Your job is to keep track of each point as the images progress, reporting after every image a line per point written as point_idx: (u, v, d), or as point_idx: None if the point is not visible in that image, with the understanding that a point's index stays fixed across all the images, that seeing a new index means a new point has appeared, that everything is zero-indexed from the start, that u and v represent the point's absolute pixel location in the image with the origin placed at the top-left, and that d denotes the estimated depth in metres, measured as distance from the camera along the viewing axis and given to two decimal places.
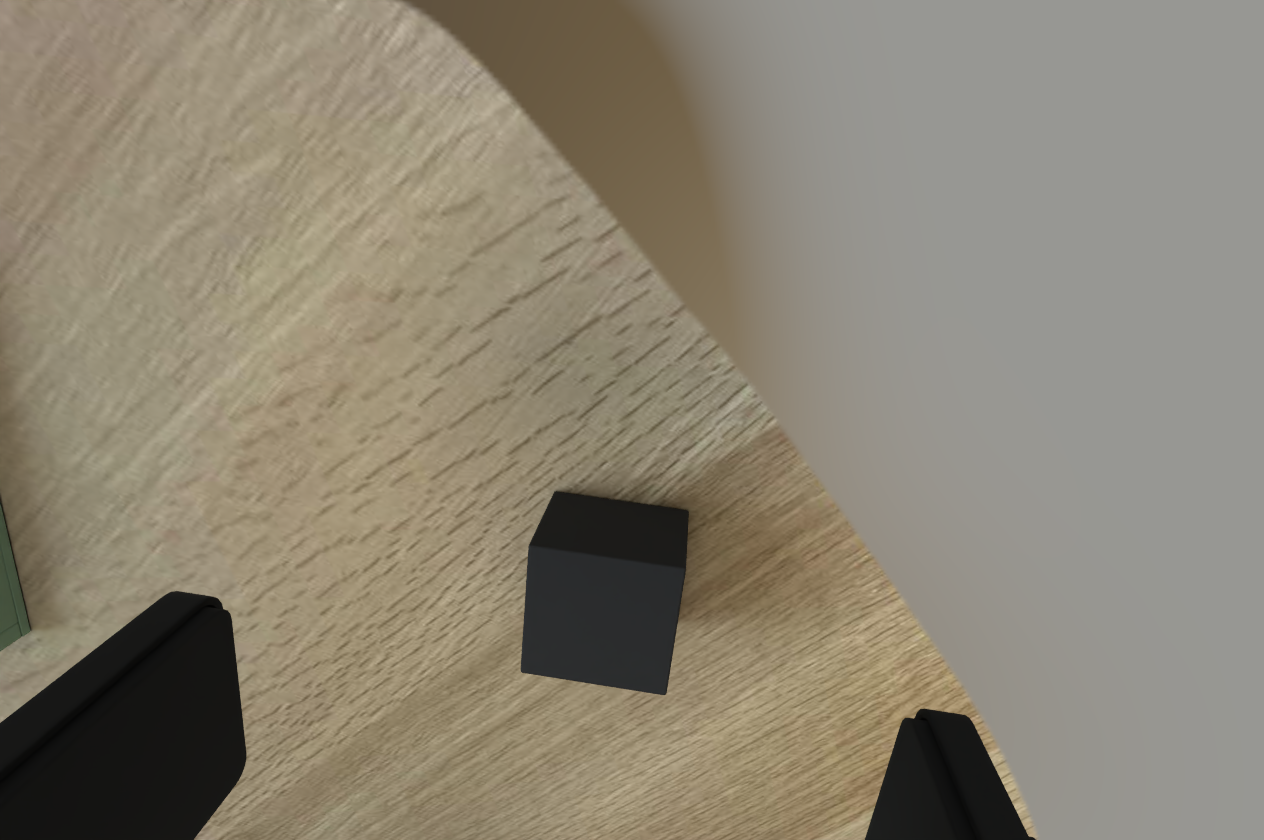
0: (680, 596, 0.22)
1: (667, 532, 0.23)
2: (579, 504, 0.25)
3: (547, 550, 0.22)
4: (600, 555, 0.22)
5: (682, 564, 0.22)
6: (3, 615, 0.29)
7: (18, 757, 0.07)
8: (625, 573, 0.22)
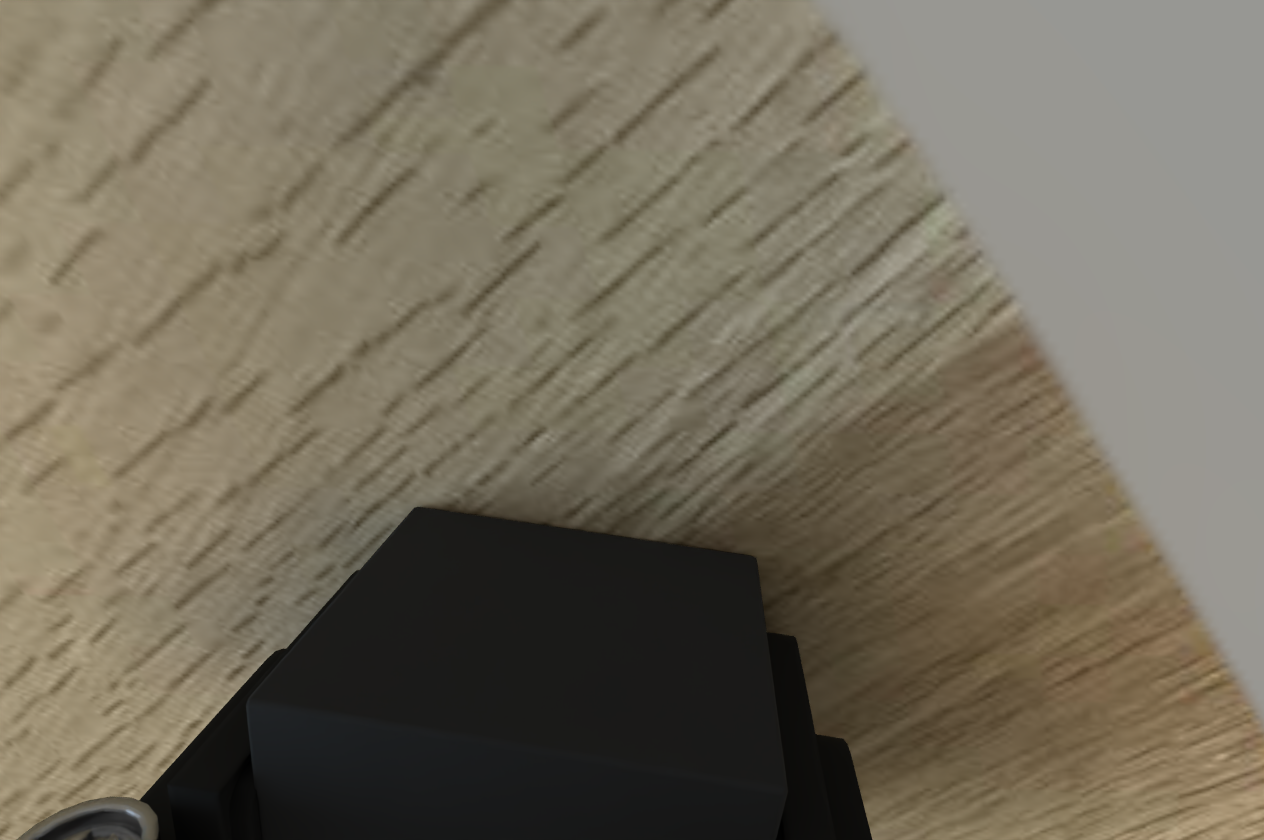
0: None
1: (708, 633, 0.08)
2: (469, 543, 0.09)
3: (307, 719, 0.06)
4: (487, 738, 0.06)
5: (774, 772, 0.06)
6: None
7: None
8: (574, 799, 0.06)
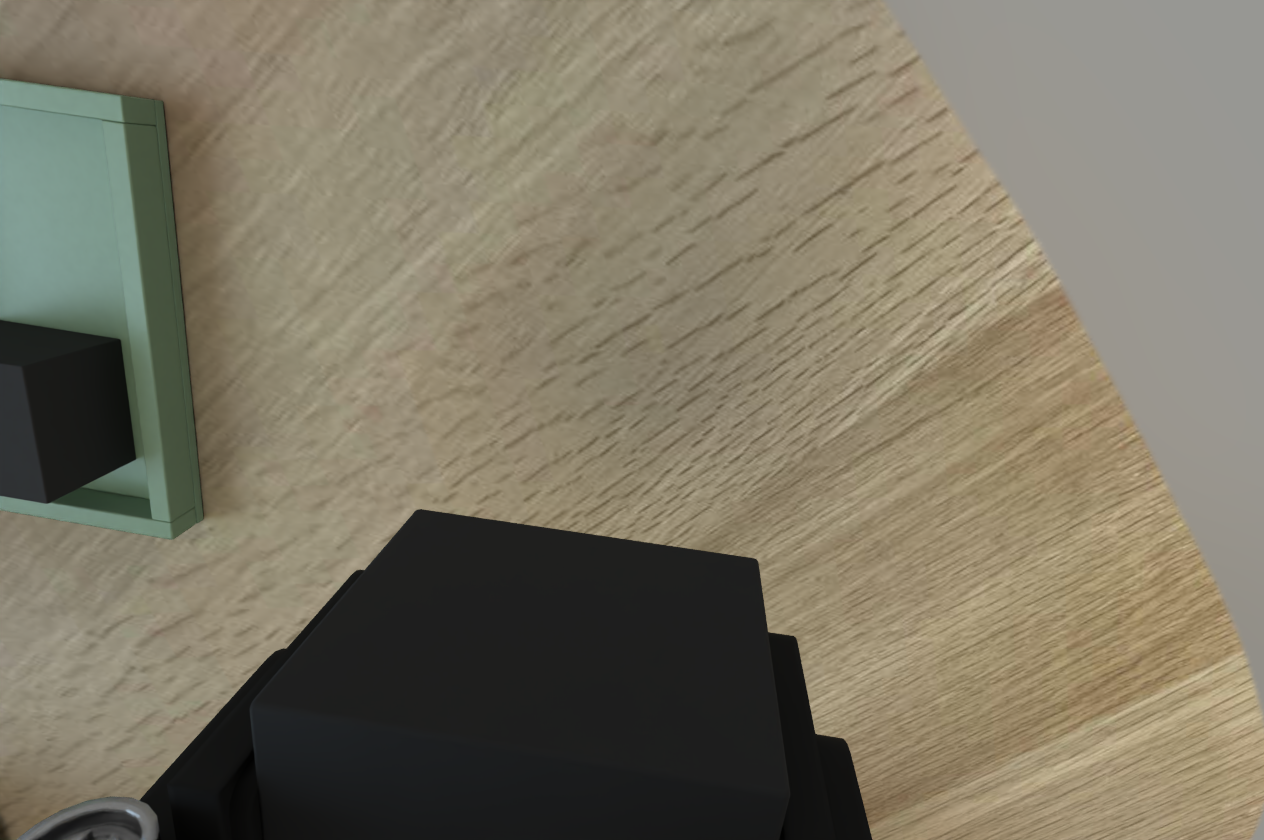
0: None
1: (711, 635, 0.08)
2: (471, 545, 0.09)
3: (310, 723, 0.06)
4: (491, 742, 0.06)
5: (777, 776, 0.06)
6: (184, 496, 0.27)
7: None
8: (578, 802, 0.06)
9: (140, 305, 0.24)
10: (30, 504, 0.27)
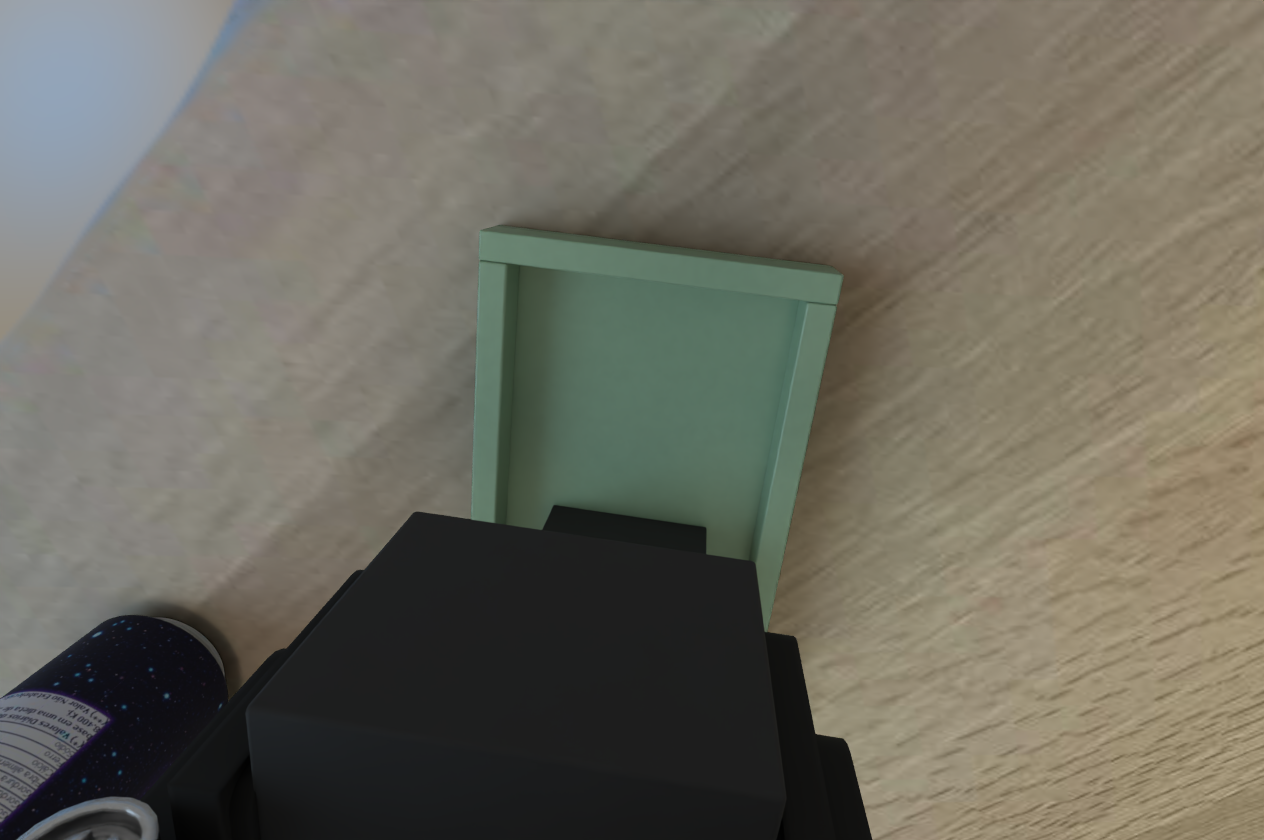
0: None
1: (708, 639, 0.08)
2: (468, 548, 0.09)
3: (306, 727, 0.06)
4: (486, 747, 0.06)
5: (773, 780, 0.06)
6: None
7: None
8: (573, 806, 0.06)
9: (788, 505, 0.20)
10: None
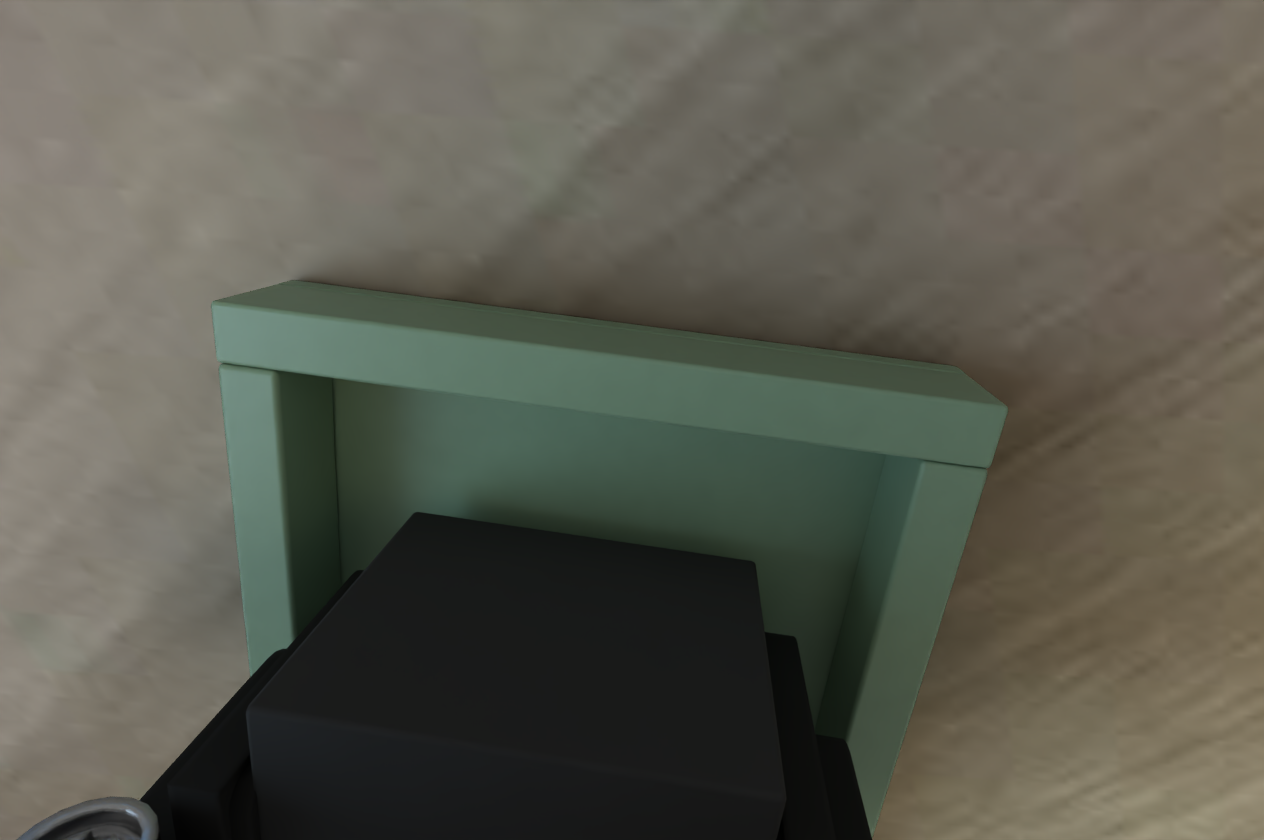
0: None
1: (707, 639, 0.08)
2: (468, 548, 0.09)
3: (307, 727, 0.06)
4: (487, 746, 0.06)
5: (773, 779, 0.06)
6: None
7: None
8: (572, 806, 0.06)
9: None
10: None
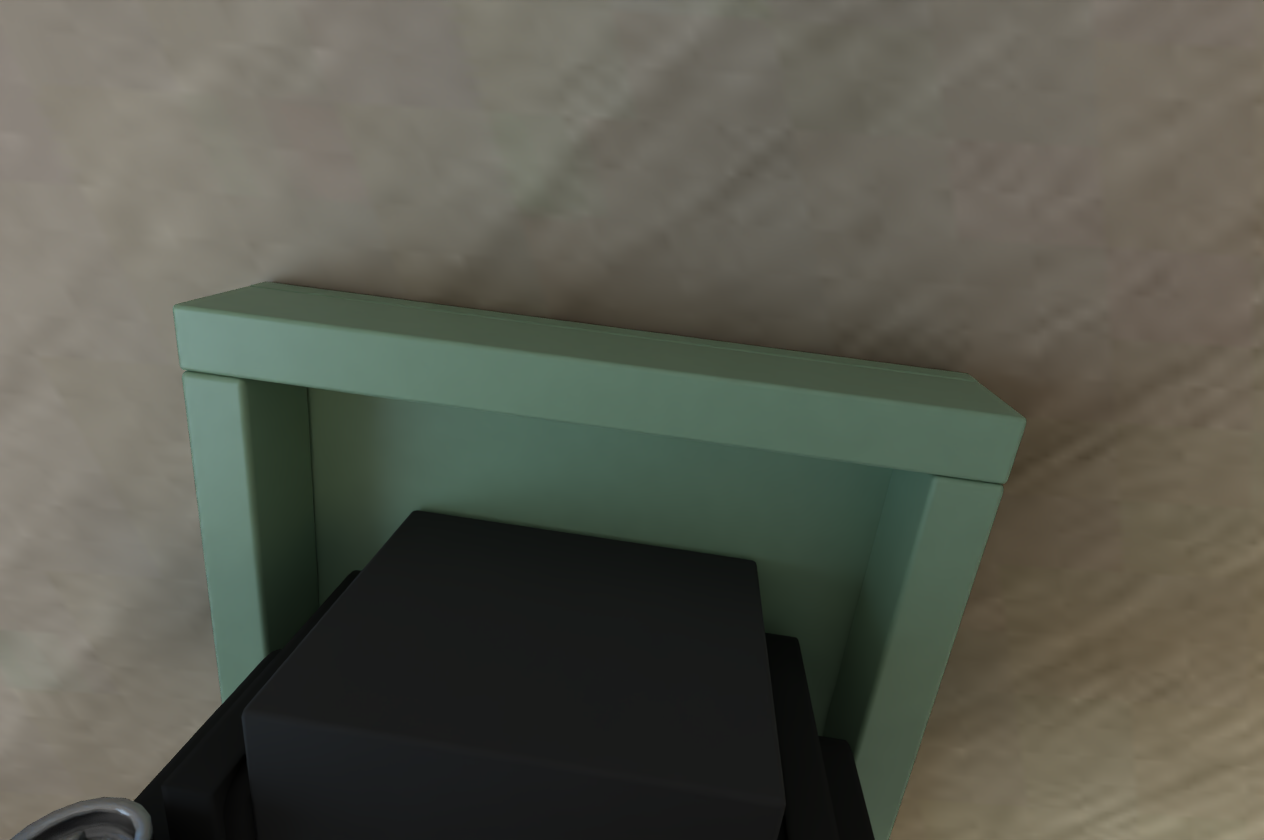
0: None
1: (707, 640, 0.08)
2: (467, 547, 0.09)
3: (302, 731, 0.06)
4: (484, 750, 0.06)
5: (773, 784, 0.06)
6: None
7: None
8: (571, 811, 0.06)
9: None
10: None
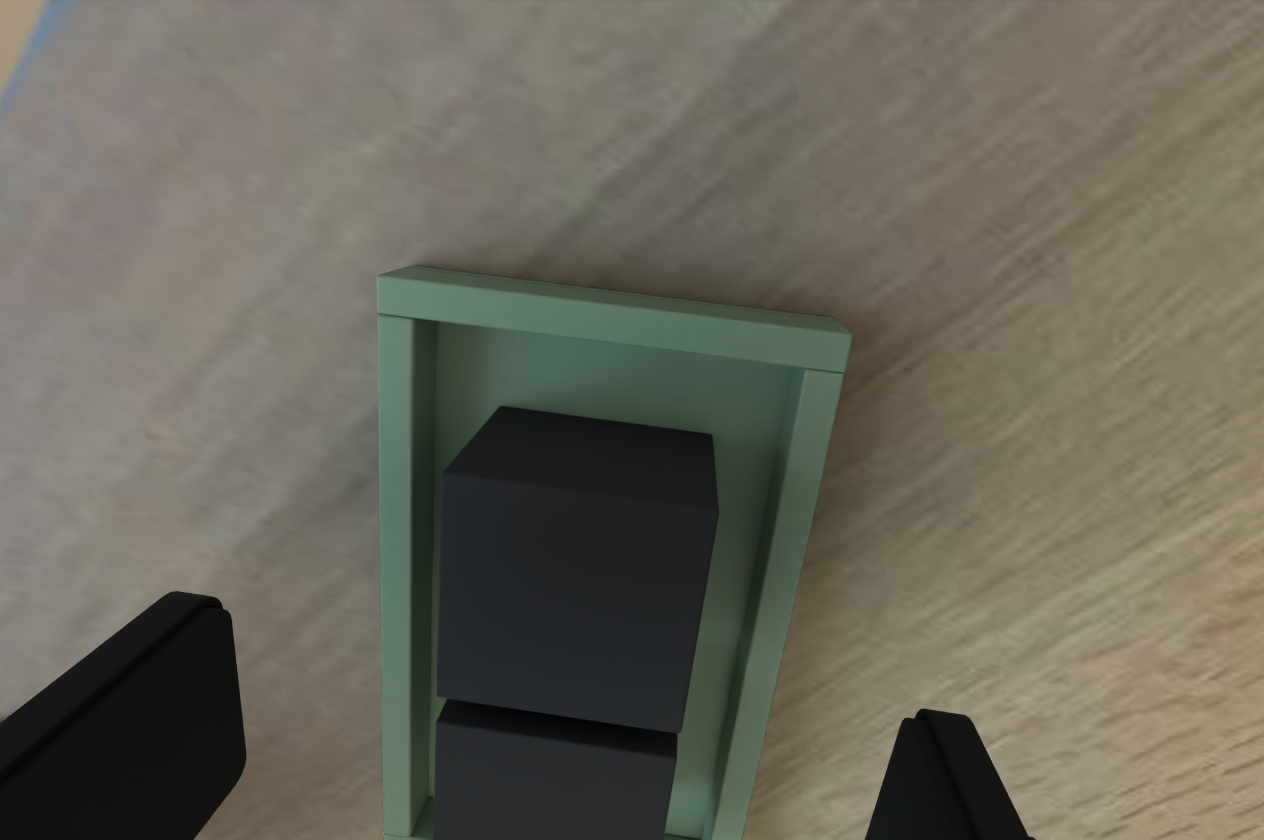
0: (708, 561, 0.12)
1: (681, 460, 0.14)
2: (537, 422, 0.15)
3: (474, 481, 0.12)
4: (567, 489, 0.12)
5: (713, 505, 0.12)
6: None
7: (19, 758, 0.07)
8: (611, 521, 0.12)
9: (783, 620, 0.16)
10: None
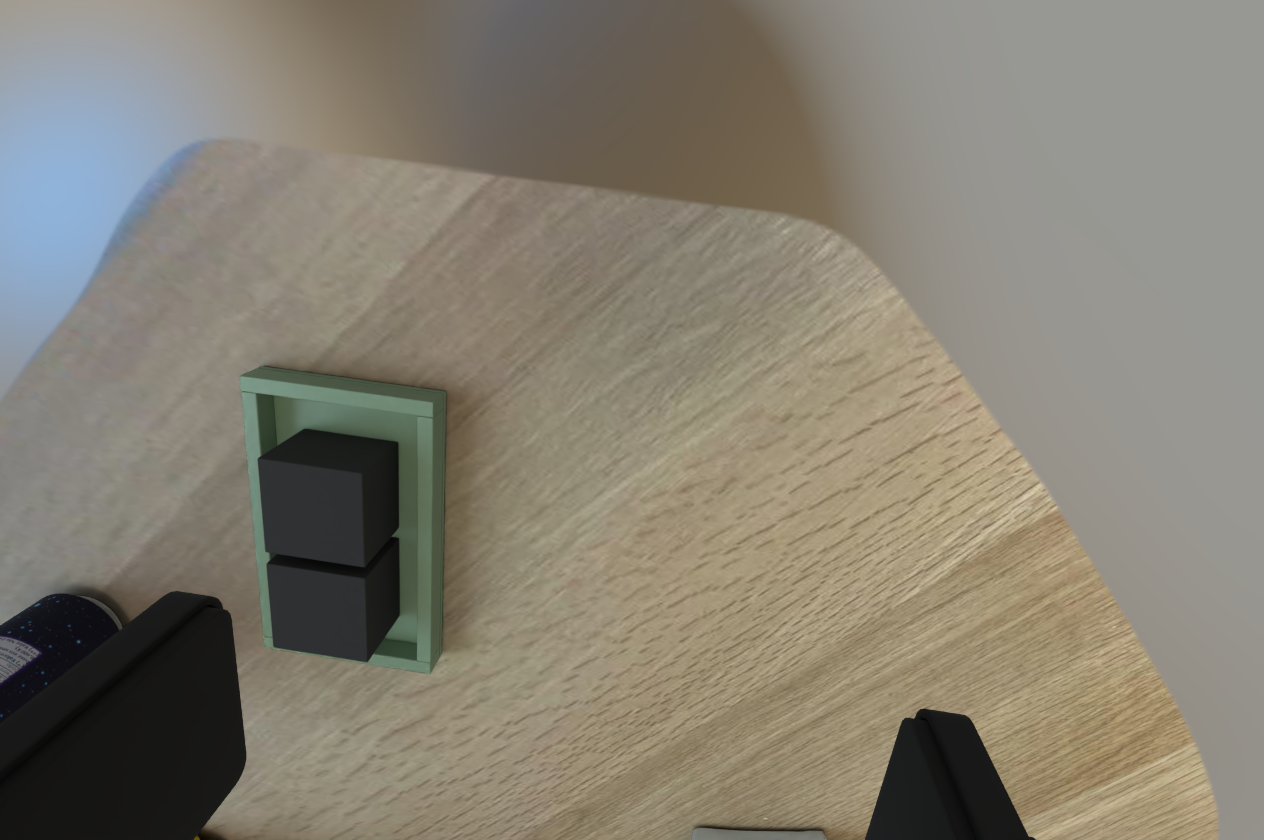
0: (362, 493, 0.32)
1: (367, 454, 0.33)
2: (316, 436, 0.34)
3: (269, 461, 0.32)
4: (305, 464, 0.31)
5: (361, 471, 0.31)
6: (436, 642, 0.38)
7: (18, 757, 0.07)
8: (323, 477, 0.32)
9: (428, 525, 0.35)
10: None
